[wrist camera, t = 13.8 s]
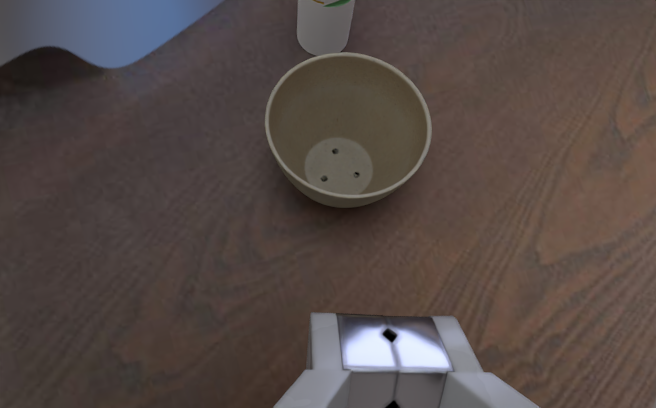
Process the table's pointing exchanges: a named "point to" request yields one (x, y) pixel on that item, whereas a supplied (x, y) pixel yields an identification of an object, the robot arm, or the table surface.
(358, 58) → the flower pot
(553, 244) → the table surface
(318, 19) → the tube
